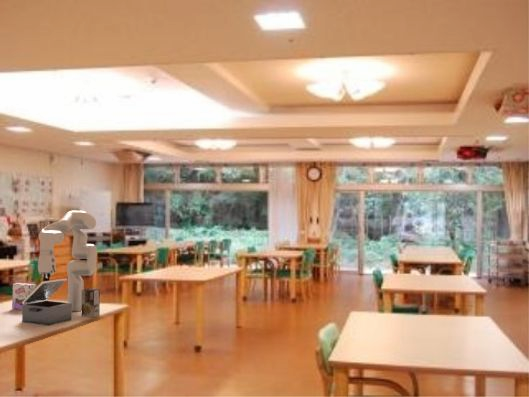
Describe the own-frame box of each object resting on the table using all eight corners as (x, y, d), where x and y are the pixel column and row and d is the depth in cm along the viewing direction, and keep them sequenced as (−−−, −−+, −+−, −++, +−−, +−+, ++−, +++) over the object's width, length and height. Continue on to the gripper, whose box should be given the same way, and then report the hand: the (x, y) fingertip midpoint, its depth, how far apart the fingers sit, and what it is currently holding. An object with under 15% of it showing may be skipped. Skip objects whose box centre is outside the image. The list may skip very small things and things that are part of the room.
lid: (47, 299, 363) (45, 296, 363) (67, 279, 356) (65, 276, 357) (22, 304, 346) (20, 300, 347) (43, 283, 339) (40, 279, 340)
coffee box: (100, 315, 370) (100, 289, 370) (93, 317, 364) (94, 290, 364) (87, 314, 373) (87, 288, 373) (80, 316, 367) (81, 289, 367)
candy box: (11, 309, 387) (12, 283, 387) (18, 308, 393) (19, 282, 393) (28, 311, 382) (29, 284, 382) (35, 309, 387) (35, 283, 388)
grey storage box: (48, 316, 364) (48, 299, 364) (74, 319, 356) (74, 302, 356) (19, 322, 344) (19, 305, 345) (45, 326, 336) (46, 308, 336)
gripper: (61, 253, 351) (60, 285, 351) (42, 252, 358) (41, 283, 358) (51, 254, 344) (50, 286, 344) (32, 252, 351) (31, 284, 351)
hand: (46, 284), depth 351 cm, fingers closed
